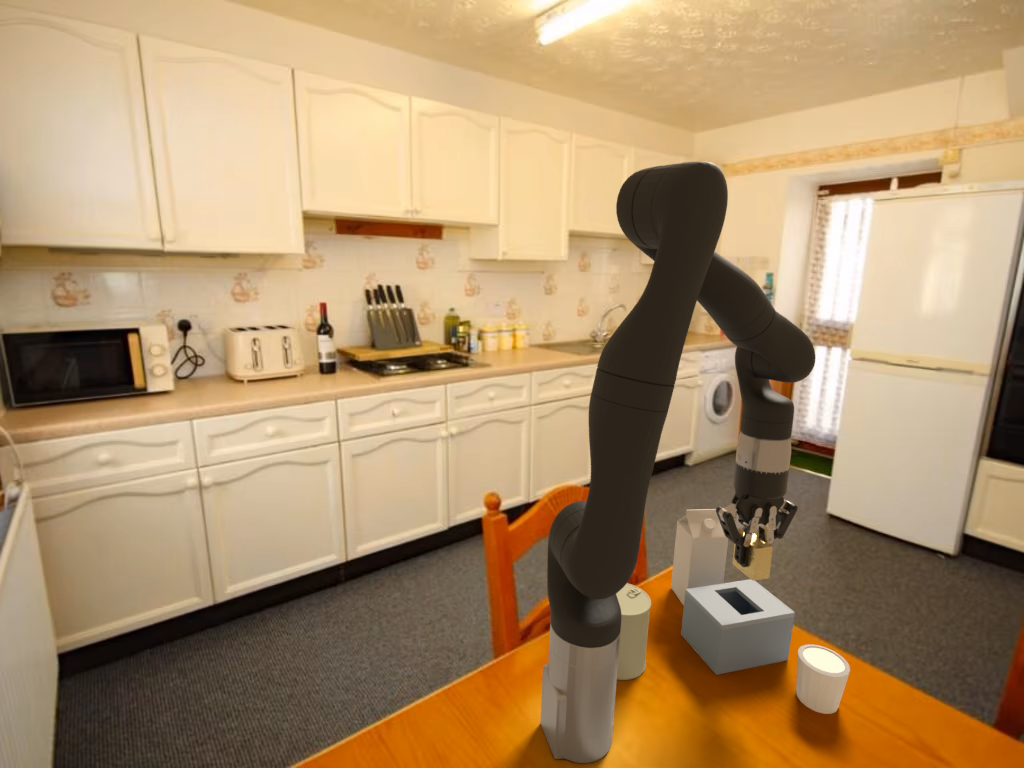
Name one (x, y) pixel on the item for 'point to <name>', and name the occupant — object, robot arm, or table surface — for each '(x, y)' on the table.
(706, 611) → the coin box
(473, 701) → the table surface
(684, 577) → the milk carton
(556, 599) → the robot arm
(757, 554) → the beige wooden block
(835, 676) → the white cup
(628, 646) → the can
